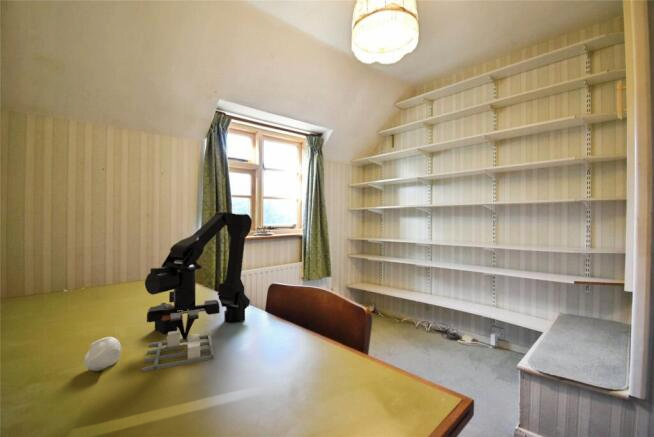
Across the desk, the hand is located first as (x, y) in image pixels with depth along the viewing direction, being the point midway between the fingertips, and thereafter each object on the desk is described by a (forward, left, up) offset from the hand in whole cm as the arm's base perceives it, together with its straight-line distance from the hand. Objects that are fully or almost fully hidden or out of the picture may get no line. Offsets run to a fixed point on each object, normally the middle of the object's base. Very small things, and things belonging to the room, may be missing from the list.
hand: (184, 339), depth 87 cm
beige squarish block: (-2, +5, -1) cm, 6 cm away
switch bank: (+2, +5, -3) cm, 6 cm away
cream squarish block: (+3, 0, -1) cm, 3 cm away
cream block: (-2, +10, -1) cm, 10 cm away
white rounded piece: (+19, +4, -3) cm, 19 cm away
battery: (+6, -14, -3) cm, 16 cm away
